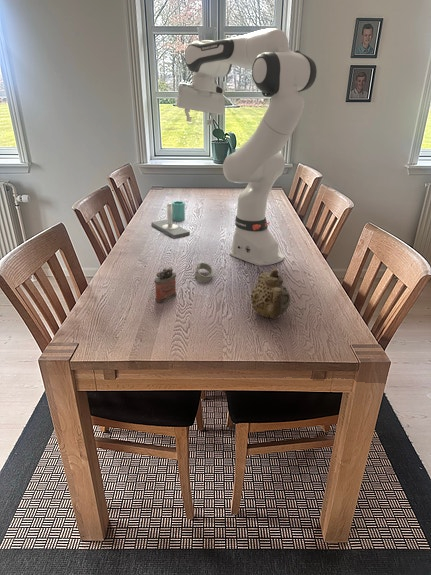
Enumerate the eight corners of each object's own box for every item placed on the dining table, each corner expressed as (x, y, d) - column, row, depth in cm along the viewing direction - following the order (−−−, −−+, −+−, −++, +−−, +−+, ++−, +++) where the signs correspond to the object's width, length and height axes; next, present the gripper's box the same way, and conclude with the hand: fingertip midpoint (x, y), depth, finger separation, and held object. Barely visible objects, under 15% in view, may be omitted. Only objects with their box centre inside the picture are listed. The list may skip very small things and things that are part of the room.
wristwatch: (196, 271, 148) (196, 258, 146) (213, 272, 148) (214, 259, 146) (193, 282, 140) (193, 269, 138) (212, 283, 140) (212, 270, 138)
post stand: (189, 235, 181) (189, 207, 175) (174, 238, 177) (173, 209, 171) (166, 222, 195) (165, 196, 189) (151, 225, 191) (150, 198, 185)
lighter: (171, 292, 133) (170, 263, 129) (178, 295, 131) (178, 266, 127) (152, 301, 128) (151, 271, 123) (160, 304, 126) (159, 275, 121)
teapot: (245, 298, 131) (248, 254, 124) (280, 298, 132) (285, 254, 125) (255, 336, 112) (259, 286, 105) (297, 335, 113) (304, 286, 106)
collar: (186, 219, 200) (186, 203, 197) (176, 221, 197) (176, 205, 194) (180, 216, 204) (180, 200, 201) (170, 218, 201) (170, 202, 198)
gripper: (182, 81, 159) (178, 119, 163) (228, 90, 168) (224, 126, 173) (176, 82, 164) (173, 119, 169) (221, 91, 174) (217, 126, 178)
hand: (199, 123), depth 171 cm, fingers open, 8 cm apart
